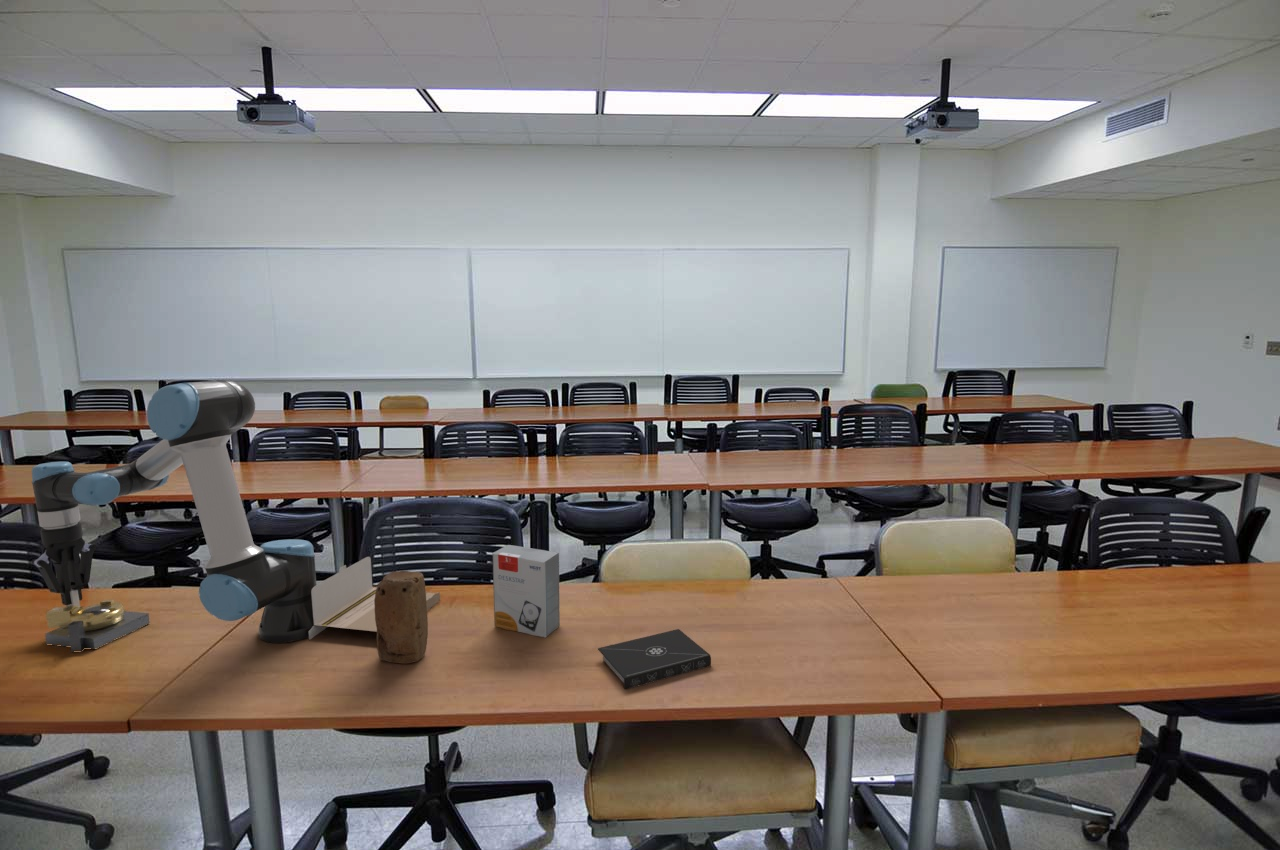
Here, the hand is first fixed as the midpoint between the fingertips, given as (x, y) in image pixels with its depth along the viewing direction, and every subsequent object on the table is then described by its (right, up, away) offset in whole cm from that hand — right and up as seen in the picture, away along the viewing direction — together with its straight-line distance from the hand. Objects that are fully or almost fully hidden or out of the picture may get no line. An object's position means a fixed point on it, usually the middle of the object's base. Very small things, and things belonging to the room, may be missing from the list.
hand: (74, 614), depth 159 cm
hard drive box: (+114, -4, +3) cm, 114 cm away
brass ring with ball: (+5, -1, -2) cm, 5 cm away
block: (+87, -6, -12) cm, 89 cm away
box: (+74, -4, +8) cm, 74 cm away
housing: (+7, -5, -2) cm, 9 cm away
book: (+146, -7, -14) cm, 147 cm away
